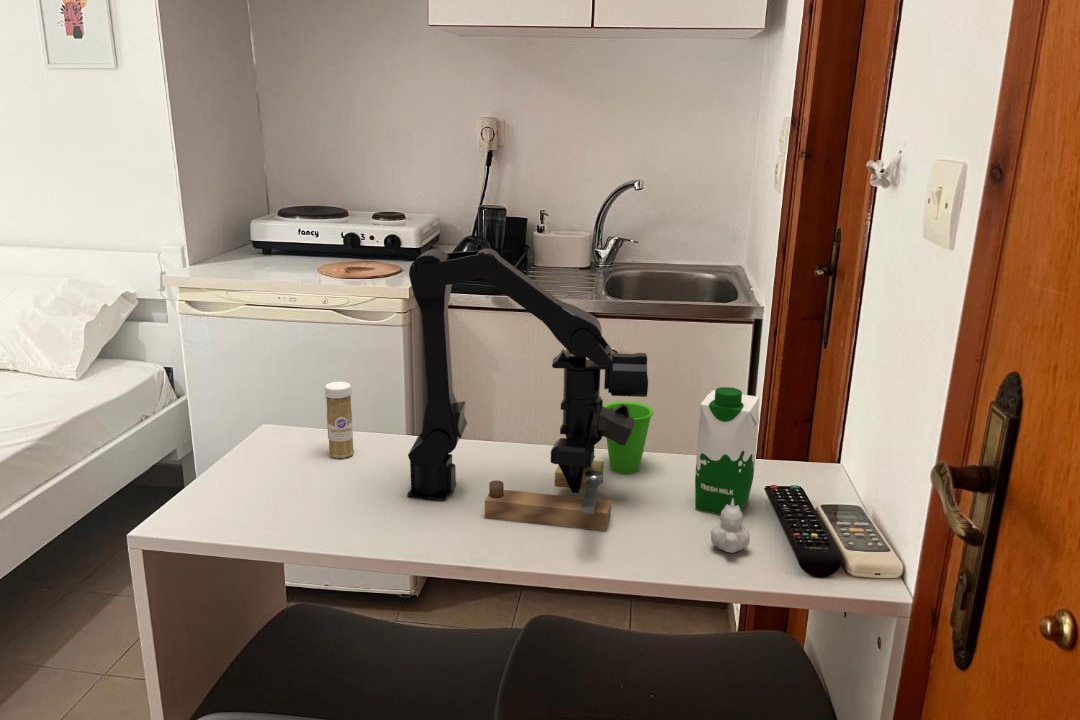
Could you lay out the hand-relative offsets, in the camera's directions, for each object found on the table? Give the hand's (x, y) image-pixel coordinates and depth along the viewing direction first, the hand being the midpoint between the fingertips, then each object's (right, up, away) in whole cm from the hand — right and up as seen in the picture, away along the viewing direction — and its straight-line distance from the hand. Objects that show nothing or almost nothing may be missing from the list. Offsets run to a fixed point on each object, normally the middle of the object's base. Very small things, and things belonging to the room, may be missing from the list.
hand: (578, 484), depth 138 cm
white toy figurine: (+21, -7, -16) cm, 27 cm away
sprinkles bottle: (-42, +3, +16) cm, 46 cm away
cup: (+9, +1, +12) cm, 15 cm away
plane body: (-5, -4, -7) cm, 9 cm away
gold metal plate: (0, +1, 0) cm, 1 cm away
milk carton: (+23, -3, -1) cm, 23 cm away
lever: (+1, +1, -15) cm, 15 cm away
